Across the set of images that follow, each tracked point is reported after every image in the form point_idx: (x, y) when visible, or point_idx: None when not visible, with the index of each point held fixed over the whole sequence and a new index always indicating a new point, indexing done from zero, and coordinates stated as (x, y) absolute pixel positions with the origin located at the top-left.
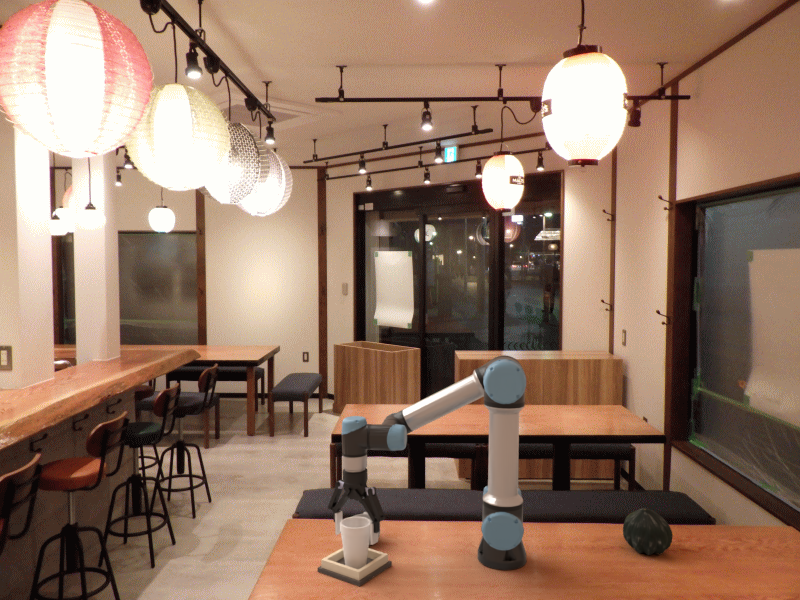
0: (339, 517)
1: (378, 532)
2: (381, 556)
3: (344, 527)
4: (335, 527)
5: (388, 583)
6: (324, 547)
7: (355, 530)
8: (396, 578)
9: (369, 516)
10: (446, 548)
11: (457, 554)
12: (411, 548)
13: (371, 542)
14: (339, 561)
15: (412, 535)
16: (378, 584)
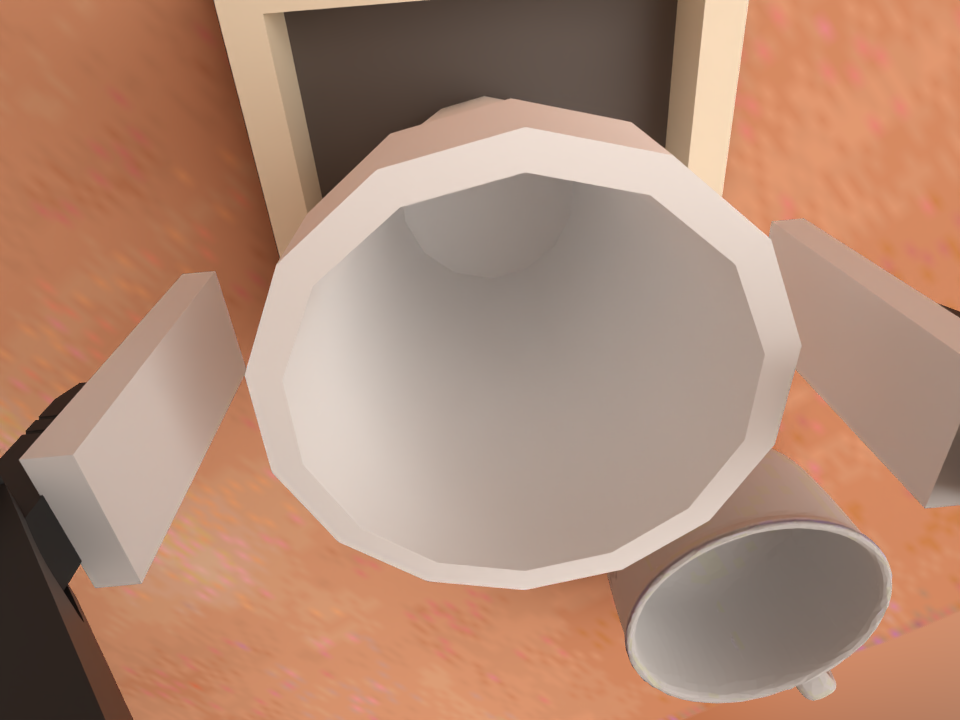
0: (892, 385)
1: (609, 580)
2: None
3: (552, 131)
4: (852, 253)
5: (102, 162)
6: (917, 290)
7: (327, 209)
8: (135, 262)
9: (762, 672)
10: (262, 663)
11: (167, 652)
12: (401, 580)
13: (190, 282)
14: None
15: (507, 666)
16: (137, 93)
